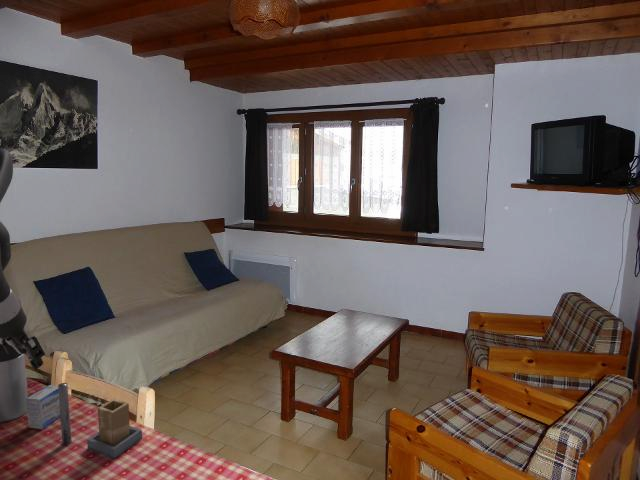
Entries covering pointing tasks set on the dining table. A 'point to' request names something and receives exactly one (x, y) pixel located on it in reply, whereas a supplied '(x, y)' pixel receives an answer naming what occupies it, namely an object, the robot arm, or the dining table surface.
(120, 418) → the sleeve
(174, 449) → the dining table surface
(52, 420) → the medicine box
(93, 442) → the tray
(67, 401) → the post
